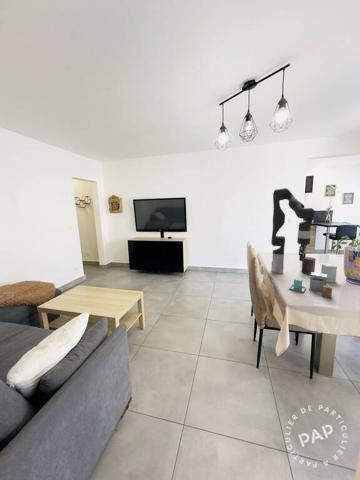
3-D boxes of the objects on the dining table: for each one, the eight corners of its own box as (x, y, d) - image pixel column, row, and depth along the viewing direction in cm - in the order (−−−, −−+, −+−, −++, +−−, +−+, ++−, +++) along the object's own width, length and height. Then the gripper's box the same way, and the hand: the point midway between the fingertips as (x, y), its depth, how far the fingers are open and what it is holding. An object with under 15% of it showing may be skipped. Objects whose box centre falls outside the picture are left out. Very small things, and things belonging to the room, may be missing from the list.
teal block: (293, 288, 138) (293, 279, 137) (294, 286, 141) (295, 277, 140) (300, 290, 135) (301, 280, 134) (301, 288, 138) (302, 279, 137)
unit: (309, 289, 137) (310, 274, 135) (311, 286, 143) (312, 271, 141) (325, 292, 131) (326, 277, 130) (326, 289, 137) (327, 274, 135)
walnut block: (322, 297, 125) (323, 286, 124) (323, 294, 129) (323, 284, 128) (331, 298, 123) (332, 288, 121) (331, 296, 126) (332, 286, 125)
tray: (289, 289, 138) (289, 288, 138) (291, 285, 145) (292, 284, 144) (303, 293, 132) (303, 291, 132) (306, 288, 139) (306, 287, 138)
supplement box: (335, 282, 149) (337, 266, 147) (325, 282, 150) (326, 266, 148) (330, 279, 156) (331, 263, 154) (320, 278, 157) (321, 263, 155)
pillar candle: (302, 274, 169) (304, 257, 167) (300, 270, 178) (301, 255, 175) (315, 275, 165) (317, 258, 163) (312, 271, 174) (314, 255, 172)
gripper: (308, 239, 127) (306, 262, 129) (312, 236, 137) (310, 258, 140) (295, 238, 131) (294, 261, 134) (299, 235, 142) (298, 256, 145)
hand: (302, 259), depth 137 cm, fingers open, 8 cm apart
